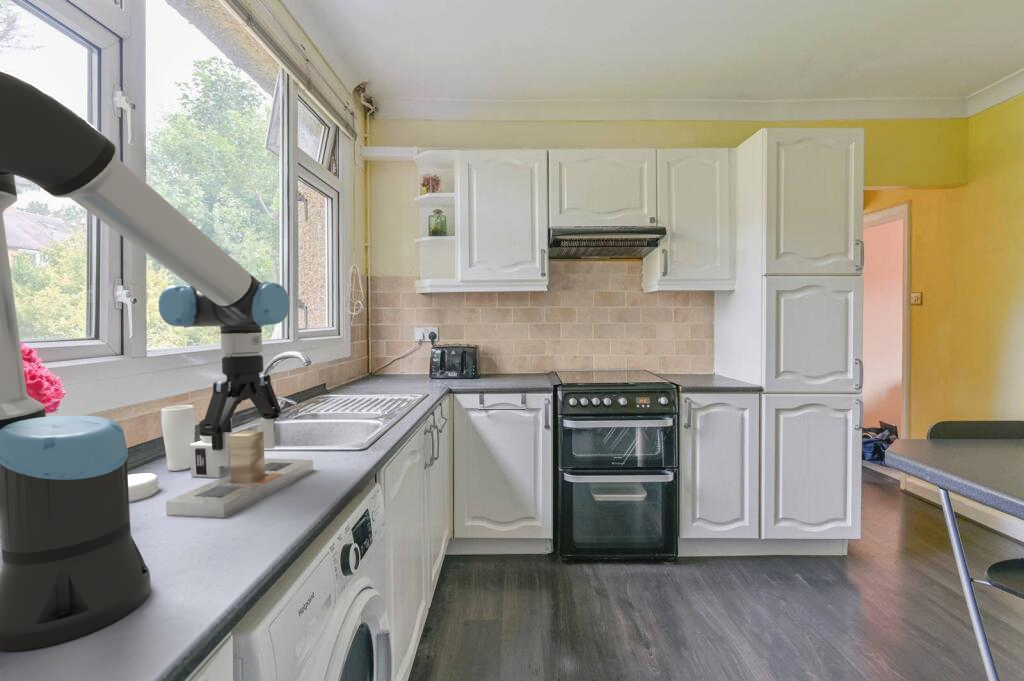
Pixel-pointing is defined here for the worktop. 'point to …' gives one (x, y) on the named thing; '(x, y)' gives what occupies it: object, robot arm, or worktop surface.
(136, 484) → the coaster
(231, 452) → the beech peg
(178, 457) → the drinking glass
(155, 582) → the worktop surface
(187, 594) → the worktop surface
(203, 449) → the container
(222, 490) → the slotted peg board
